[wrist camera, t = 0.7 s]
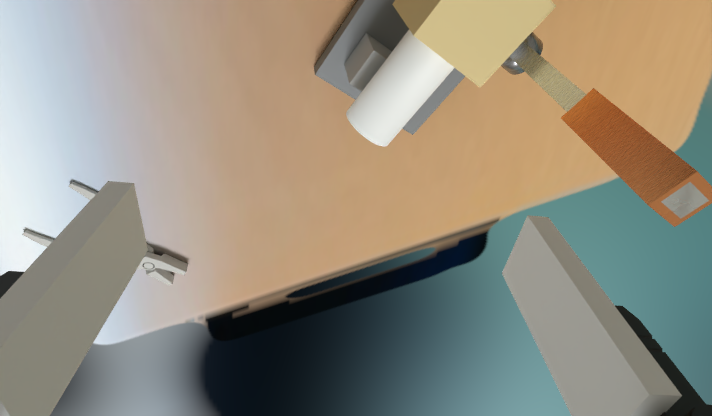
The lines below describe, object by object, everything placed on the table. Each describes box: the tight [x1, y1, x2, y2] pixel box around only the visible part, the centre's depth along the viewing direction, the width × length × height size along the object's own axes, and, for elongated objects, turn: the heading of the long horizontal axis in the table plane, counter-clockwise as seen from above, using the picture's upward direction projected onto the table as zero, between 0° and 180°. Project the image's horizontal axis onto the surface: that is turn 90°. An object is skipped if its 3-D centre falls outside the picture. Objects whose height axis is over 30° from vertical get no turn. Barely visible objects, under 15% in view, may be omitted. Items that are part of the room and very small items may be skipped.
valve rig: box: [314, 0, 556, 146], centre depth 28 cm, size 22×11×10 cm, turn 144°
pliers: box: [22, 182, 188, 285], centre depth 44 cm, size 10×2×15 cm
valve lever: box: [501, 32, 712, 227], centre depth 23 cm, size 3×3×17 cm
